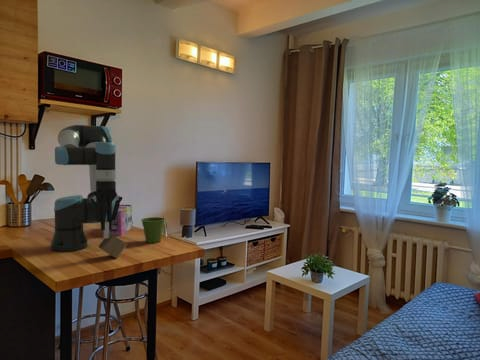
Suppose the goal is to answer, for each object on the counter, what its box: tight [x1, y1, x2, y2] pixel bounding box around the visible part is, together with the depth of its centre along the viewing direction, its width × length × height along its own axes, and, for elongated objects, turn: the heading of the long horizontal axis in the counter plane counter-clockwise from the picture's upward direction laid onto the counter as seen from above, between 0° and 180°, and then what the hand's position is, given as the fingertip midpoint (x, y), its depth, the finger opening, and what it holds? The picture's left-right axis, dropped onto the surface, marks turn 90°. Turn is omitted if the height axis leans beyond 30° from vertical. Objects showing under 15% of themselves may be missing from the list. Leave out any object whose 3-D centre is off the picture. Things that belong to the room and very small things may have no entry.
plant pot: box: [140, 216, 166, 244], centre depth 171 cm, size 12×12×11 cm
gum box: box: [109, 204, 133, 237], centre depth 192 cm, size 24×8×14 cm, turn 4°
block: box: [97, 233, 128, 259], centre depth 144 cm, size 7×7×7 cm
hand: (106, 237), depth 142 cm, fingers closed
